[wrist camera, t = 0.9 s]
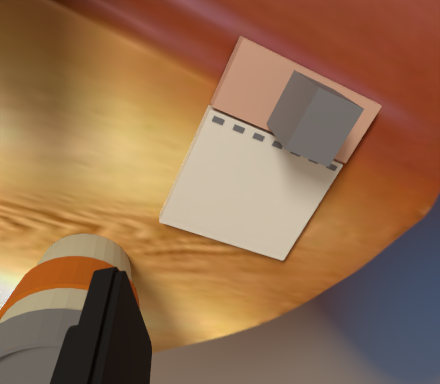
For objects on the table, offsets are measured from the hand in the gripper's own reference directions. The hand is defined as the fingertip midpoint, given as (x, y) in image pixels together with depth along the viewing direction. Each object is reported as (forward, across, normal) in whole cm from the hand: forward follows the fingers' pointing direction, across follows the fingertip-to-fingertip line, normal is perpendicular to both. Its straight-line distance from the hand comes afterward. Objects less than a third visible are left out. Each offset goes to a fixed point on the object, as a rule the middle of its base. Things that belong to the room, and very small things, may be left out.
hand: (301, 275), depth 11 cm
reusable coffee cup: (+26, +17, +17) cm, 36 cm away
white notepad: (+27, -1, +12) cm, 29 cm away
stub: (+27, -6, +4) cm, 28 cm away
